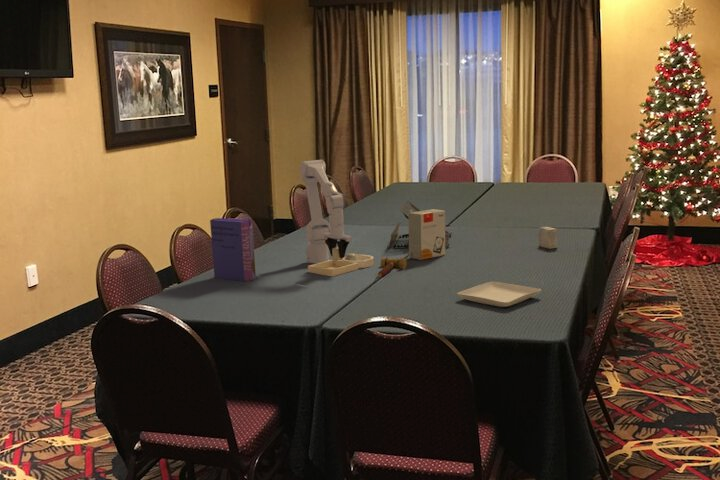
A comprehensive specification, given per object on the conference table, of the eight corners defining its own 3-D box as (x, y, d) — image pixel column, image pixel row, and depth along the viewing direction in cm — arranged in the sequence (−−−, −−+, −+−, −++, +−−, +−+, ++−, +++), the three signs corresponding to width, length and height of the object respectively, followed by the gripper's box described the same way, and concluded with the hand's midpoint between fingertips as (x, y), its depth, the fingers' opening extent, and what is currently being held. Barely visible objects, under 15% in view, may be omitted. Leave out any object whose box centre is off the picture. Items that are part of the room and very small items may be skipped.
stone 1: (330, 259, 321) (329, 248, 320) (337, 257, 324) (337, 246, 324) (337, 260, 318) (337, 249, 317) (345, 258, 321) (345, 248, 321)
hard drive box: (420, 260, 335) (419, 214, 331) (408, 258, 340) (407, 212, 337) (446, 254, 344) (445, 209, 341) (433, 252, 350) (432, 208, 346)
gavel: (390, 271, 304) (366, 270, 308) (390, 282, 305) (366, 281, 309) (406, 256, 323) (383, 256, 326) (407, 267, 324) (384, 266, 327)
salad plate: (455, 301, 270) (455, 292, 269) (492, 289, 285) (492, 280, 284) (506, 312, 255) (506, 302, 254) (542, 298, 270) (542, 288, 269)
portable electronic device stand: (449, 249, 357) (448, 210, 354) (388, 250, 362) (387, 211, 358) (452, 236, 389) (451, 199, 386) (396, 236, 394) (395, 200, 390)
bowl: (335, 267, 329) (335, 258, 328) (357, 261, 338) (357, 253, 337) (358, 271, 320) (358, 262, 319) (379, 265, 329) (379, 257, 328)
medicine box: (557, 248, 349) (557, 229, 347) (548, 249, 347) (549, 230, 346) (546, 245, 356) (547, 226, 355) (538, 246, 355) (538, 227, 353)
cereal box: (255, 279, 313) (251, 219, 309) (248, 281, 309) (244, 221, 305) (222, 275, 322) (217, 217, 318) (214, 277, 318) (210, 219, 314)
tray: (308, 273, 319) (307, 265, 319) (334, 266, 330) (334, 259, 330) (332, 277, 310) (331, 270, 309) (358, 270, 321) (358, 263, 320)
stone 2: (343, 265, 329) (343, 254, 328) (351, 263, 332) (350, 252, 331) (351, 266, 326) (351, 255, 325) (358, 264, 329) (358, 254, 328)
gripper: (317, 223, 321) (318, 256, 323) (342, 227, 311) (343, 260, 313) (329, 221, 326) (330, 253, 328) (354, 224, 316) (355, 257, 318)
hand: (337, 256), depth 321 cm, fingers closed on stone 1, 4 cm apart
